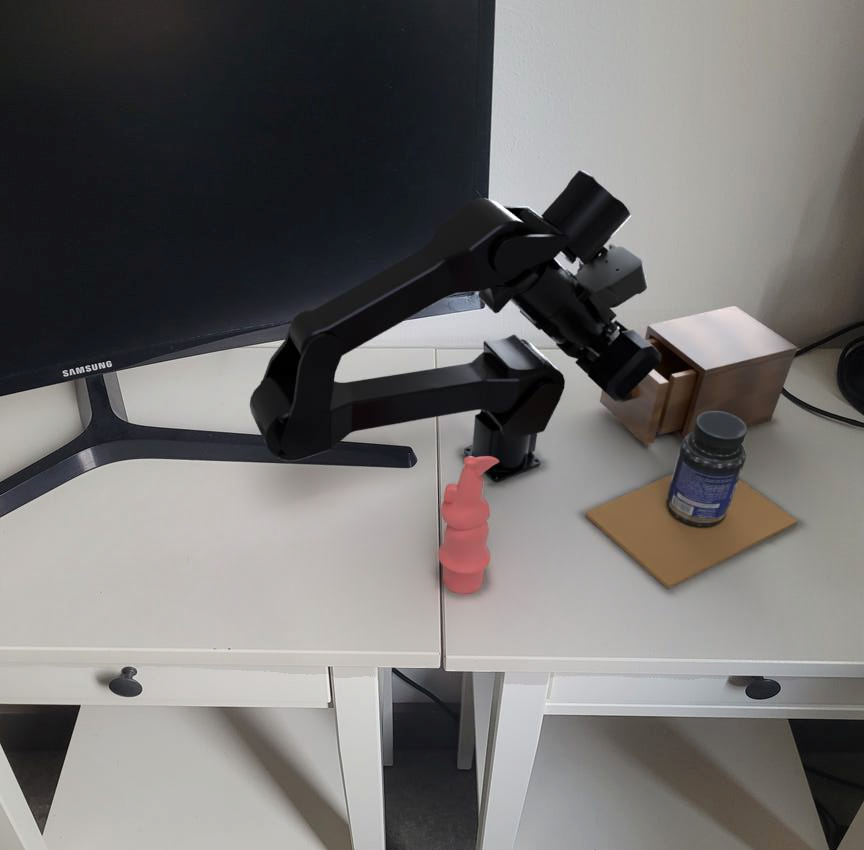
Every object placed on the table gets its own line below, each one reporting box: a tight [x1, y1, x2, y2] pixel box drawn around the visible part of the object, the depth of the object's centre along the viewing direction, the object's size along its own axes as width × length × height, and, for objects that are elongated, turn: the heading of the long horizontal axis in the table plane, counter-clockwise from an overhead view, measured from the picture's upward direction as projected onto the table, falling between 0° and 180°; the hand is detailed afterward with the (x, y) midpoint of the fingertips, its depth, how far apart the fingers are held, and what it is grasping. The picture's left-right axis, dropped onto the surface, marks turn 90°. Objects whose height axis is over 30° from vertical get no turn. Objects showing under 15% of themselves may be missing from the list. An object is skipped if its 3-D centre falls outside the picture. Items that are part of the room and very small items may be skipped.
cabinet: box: [644, 305, 798, 443], centre depth 97 cm, size 13×11×10 cm
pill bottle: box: [666, 411, 748, 527], centre depth 82 cm, size 6×6×11 cm
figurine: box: [437, 456, 499, 595], centre depth 74 cm, size 5×5×15 cm
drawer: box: [599, 338, 699, 446], centre depth 95 cm, size 13×9×8 cm
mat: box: [584, 473, 798, 590], centre depth 85 cm, size 18×12×1 cm, turn 120°
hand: (622, 368), depth 91 cm, fingers closed
